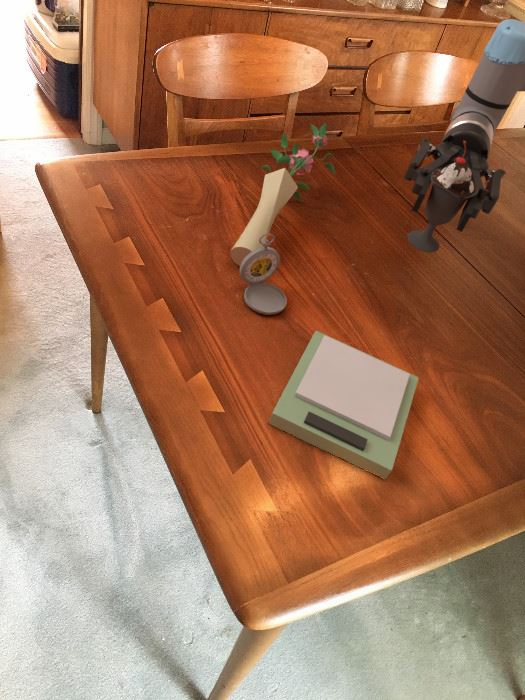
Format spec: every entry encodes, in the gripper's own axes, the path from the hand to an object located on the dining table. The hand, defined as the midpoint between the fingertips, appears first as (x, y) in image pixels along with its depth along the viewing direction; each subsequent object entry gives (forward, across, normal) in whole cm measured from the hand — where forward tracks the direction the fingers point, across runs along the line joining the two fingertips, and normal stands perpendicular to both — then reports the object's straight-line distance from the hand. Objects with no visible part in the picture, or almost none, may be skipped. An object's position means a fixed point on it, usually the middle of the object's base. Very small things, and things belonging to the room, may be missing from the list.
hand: (441, 212), depth 73 cm
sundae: (-5, 0, -8) cm, 10 cm away
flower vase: (-15, +25, -21) cm, 36 cm away
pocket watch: (+6, +19, -21) cm, 29 cm away
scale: (+19, 0, -21) cm, 28 cm away
